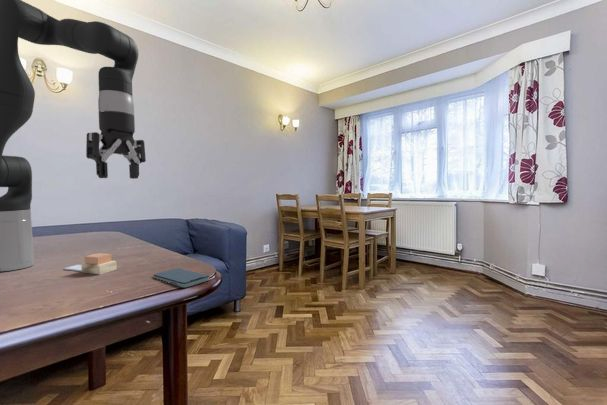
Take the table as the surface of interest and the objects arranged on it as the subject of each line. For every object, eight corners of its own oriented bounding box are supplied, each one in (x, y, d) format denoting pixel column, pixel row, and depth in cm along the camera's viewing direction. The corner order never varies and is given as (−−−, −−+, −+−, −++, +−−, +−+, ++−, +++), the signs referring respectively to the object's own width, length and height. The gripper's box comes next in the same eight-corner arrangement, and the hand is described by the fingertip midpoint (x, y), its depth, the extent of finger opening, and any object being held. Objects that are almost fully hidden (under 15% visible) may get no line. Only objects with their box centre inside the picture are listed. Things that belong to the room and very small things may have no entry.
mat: (63, 269, 85) (63, 268, 85) (78, 265, 89) (78, 264, 89) (83, 271, 83) (83, 270, 83) (97, 267, 87) (97, 266, 87)
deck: (81, 272, 82) (81, 263, 82) (99, 267, 87) (98, 259, 87) (100, 274, 80) (99, 265, 80) (116, 269, 85) (116, 260, 85)
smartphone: (178, 267, 83) (211, 275, 75) (178, 273, 83) (211, 281, 75) (151, 274, 77) (183, 283, 68) (151, 280, 77) (184, 290, 69)
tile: (85, 263, 82) (84, 256, 82) (98, 259, 86) (98, 253, 86) (98, 264, 81) (97, 257, 81) (111, 261, 85) (111, 254, 85)
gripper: (130, 119, 81) (132, 178, 82) (76, 107, 67) (79, 177, 68) (151, 118, 78) (153, 178, 80) (99, 104, 65) (102, 177, 66)
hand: (119, 178), depth 74 cm, fingers open, 8 cm apart
